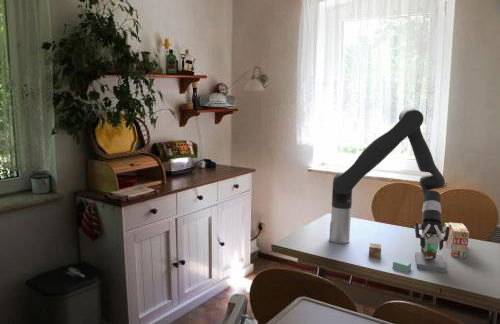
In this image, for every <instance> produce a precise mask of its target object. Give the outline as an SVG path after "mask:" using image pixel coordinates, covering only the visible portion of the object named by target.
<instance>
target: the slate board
mask: <svg viewBox="0 0 500 324" xmlns="http://www.w3.org/2000/svg"><path fill="white" fill-rule="evenodd" d="M414 258H415V259H414V260H415V263H416V264H415V265H416V269H419V270H427V271H433V272H440V273H446V272H447V265H446V263H445V259H444V256H443V254H436V258H435V259H434V260H425V258H424V256H423V255H422V253H421V251H415V253H414Z"/></svg>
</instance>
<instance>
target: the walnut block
mask: <svg viewBox="0 0 500 324" xmlns="http://www.w3.org/2000/svg"><path fill="white" fill-rule="evenodd" d="M381 255H382V244H380V243H371V242H370V243H369V248H368V258H369V259H376V260H381V257H382V256H381Z"/></svg>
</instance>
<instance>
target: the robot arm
mask: <svg viewBox="0 0 500 324" xmlns="http://www.w3.org/2000/svg"><path fill="white" fill-rule="evenodd" d="M398 115H399V116H398V121H397V123H395V125H394V126H393V127H392V128H390V129H389V130H388V131H386V132H385V133H382V135H380V136H378V137H377V138H375V139H374V140H373V141H372V142H370V144H369V145H367V146H366V147H365V148H364V149H363V151H362V152H361V153H360V154H359V156H357V159H356V160H355V161H354V163H353V164H351V166H350V167H349V168H347V170H345V171H344V172H339V173H338V172H337V174H336V175H334V177H333V180H332V191H331V192H332V194H331V195H332V196H331V213H330V214H331V215H330V223H329V237H328V239H329V240H328V241H329V242H331V243H332V242H333V243H335V244H341V245H343V244H344V245H345V244H348V243H349V242H350V236H351V235H350V234H351V233H350V232H351V219H352V204H353V201H352V199H353V196H352V195H353V189H354V188H355V187H356V186H357V184H358V183H359V182H360V181H361V180H362V178H364V176H366V175H367V174H369V173H370V172H371V171H372V170H373V169H374V168H376V167H377V166H378V165H379V164H380V163H381V162H382V161H383V160H385V158H386V157H388V156H389V155H390V154H391V153H392V152H393V151H394V150H395V149H396V148H397V147H398V146H399V145H400V143H402V141H404V140H405V139H406V138H407V139H408V141H409V143H410V146H411V150H412V151H413V156H414V158H415V162H416V164H417V167H418V170H419V171H420V172H422V173H429V174H425V175H422V176H421V177H420V179H419V186H420V188H421V191H422V195H423V197H422V198H423V204H422V212H421V213H422V221H421V223H417V222H415V223H414V232H415V238H416V239H420V240H419V241H420V242H419V243H420V244H419V245H420V247H421V246H422V248H424V236H425V234H426V233H432V234H436V233H438V234H439V235H440V238H441V241H440V242H439V243H438V250H439V251H442V249H443V248H444V241H447V240H448V236H449V229H450V228H449V227H444V226H443V225H442V206H441V193H440V192H438V191H437V190H439V189H442V188H444V186H445V185H446V181H445V177H444V176H443V174H442V173H441V171H440V170H439V169H438V167H437V166H436V164H435V161H434V158H433V155H432V152H431V150H430V147H429V146H428V144H427V142H426V140H425V137H424V136H423V133H422V129H421V127H422V125H423V123H424V119H425V118H424V115H423V113H422V112H421V111H420V110H417V109H415V108H413V107H412V108H411V107H407V108H404V109H402V111H401V112H400V113H399V114H398ZM421 229H422V230H424V231H423V233H422V232H421V234H420V230H421ZM441 231H443V233H444V232H445V237H444V236H443V235H442V232H441Z"/></svg>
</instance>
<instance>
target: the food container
mask: <svg viewBox="0 0 500 324" xmlns="http://www.w3.org/2000/svg"><path fill="white" fill-rule="evenodd" d="M423 231H424V230H423V229H422V231H421V234H422V233H423ZM440 241H441V238H440V235H439V234H438V233H436V234H432V233H426V234H425V236H424V248H422V246H420V252H421V253H422V255H423V256H424V258H425V260H434V259H435V258H436V254H437V253H438V249H439V242H440ZM437 255H438V254H437Z"/></svg>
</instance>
